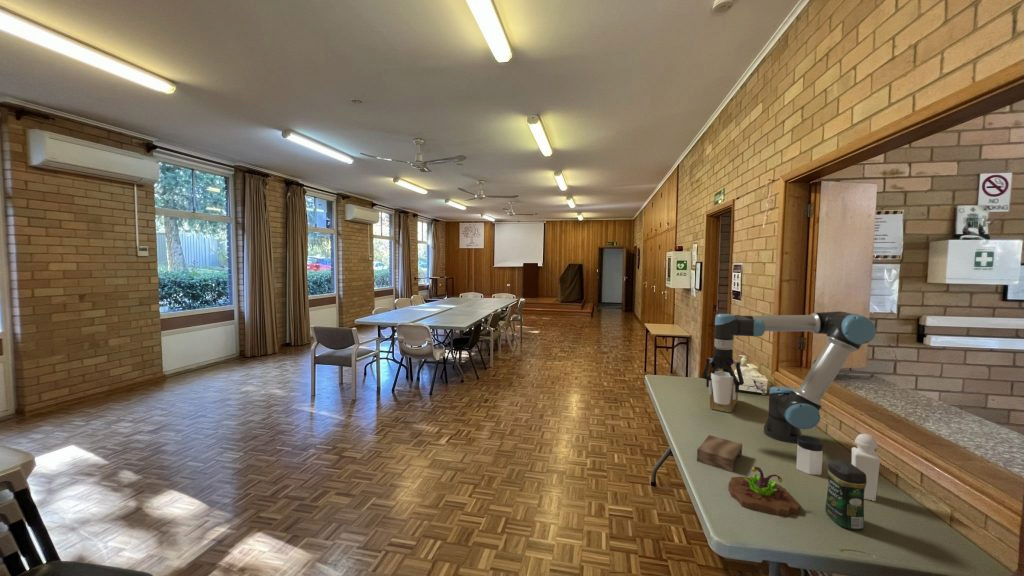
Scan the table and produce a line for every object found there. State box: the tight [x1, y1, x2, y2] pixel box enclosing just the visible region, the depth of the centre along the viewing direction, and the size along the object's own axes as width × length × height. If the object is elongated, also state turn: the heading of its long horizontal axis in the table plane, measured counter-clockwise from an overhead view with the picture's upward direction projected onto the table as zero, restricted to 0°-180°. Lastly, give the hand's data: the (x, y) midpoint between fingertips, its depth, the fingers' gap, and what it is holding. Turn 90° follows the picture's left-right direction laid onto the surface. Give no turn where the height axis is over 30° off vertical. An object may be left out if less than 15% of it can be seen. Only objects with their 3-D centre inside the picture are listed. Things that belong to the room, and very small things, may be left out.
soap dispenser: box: [851, 433, 881, 502], centre depth 138 cm, size 6×6×22 cm
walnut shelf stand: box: [696, 434, 743, 472], centre depth 165 cm, size 13×18×5 cm
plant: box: [727, 466, 800, 517], centre depth 137 cm, size 20×20×11 cm
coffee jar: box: [824, 459, 867, 531], centre depth 124 cm, size 10×8×19 cm
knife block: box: [707, 361, 739, 413], centre depth 224 cm, size 11×35×31 cm, turn 143°
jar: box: [795, 435, 824, 476], centre depth 156 cm, size 9×8×12 cm
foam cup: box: [710, 371, 734, 405], centre depth 180 cm, size 10×9×13 cm
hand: (722, 396), depth 180 cm, fingers closed on foam cup, 9 cm apart
